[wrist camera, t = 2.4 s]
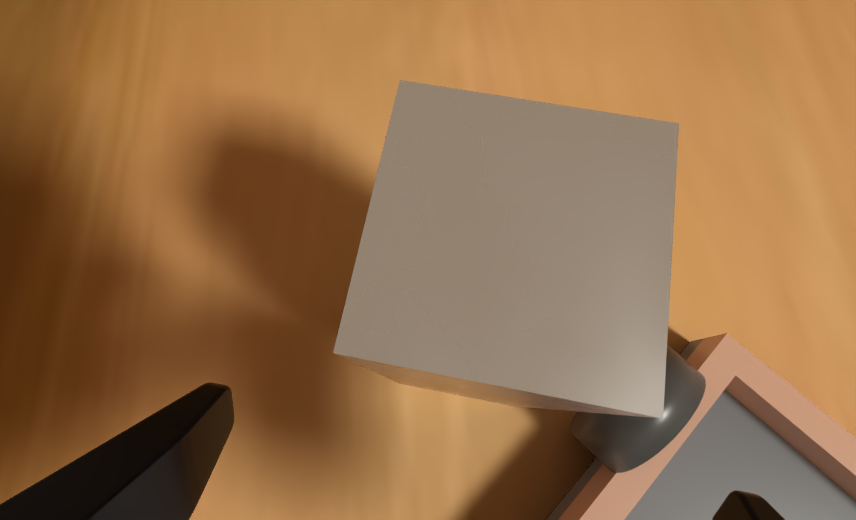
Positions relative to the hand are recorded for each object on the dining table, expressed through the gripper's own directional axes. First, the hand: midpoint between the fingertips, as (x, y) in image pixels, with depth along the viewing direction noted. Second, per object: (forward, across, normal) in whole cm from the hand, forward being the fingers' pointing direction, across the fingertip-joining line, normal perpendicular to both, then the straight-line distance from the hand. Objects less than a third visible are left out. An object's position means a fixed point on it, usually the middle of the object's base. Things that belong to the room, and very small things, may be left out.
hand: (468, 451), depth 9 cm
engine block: (+9, 0, +5) cm, 11 cm away
